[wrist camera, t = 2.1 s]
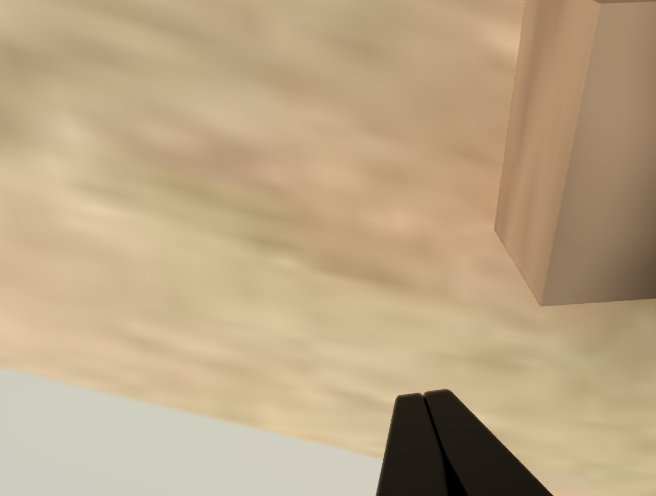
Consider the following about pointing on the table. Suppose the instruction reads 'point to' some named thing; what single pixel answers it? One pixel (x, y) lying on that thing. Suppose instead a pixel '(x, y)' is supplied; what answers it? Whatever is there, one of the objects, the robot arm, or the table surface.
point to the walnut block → (583, 152)
